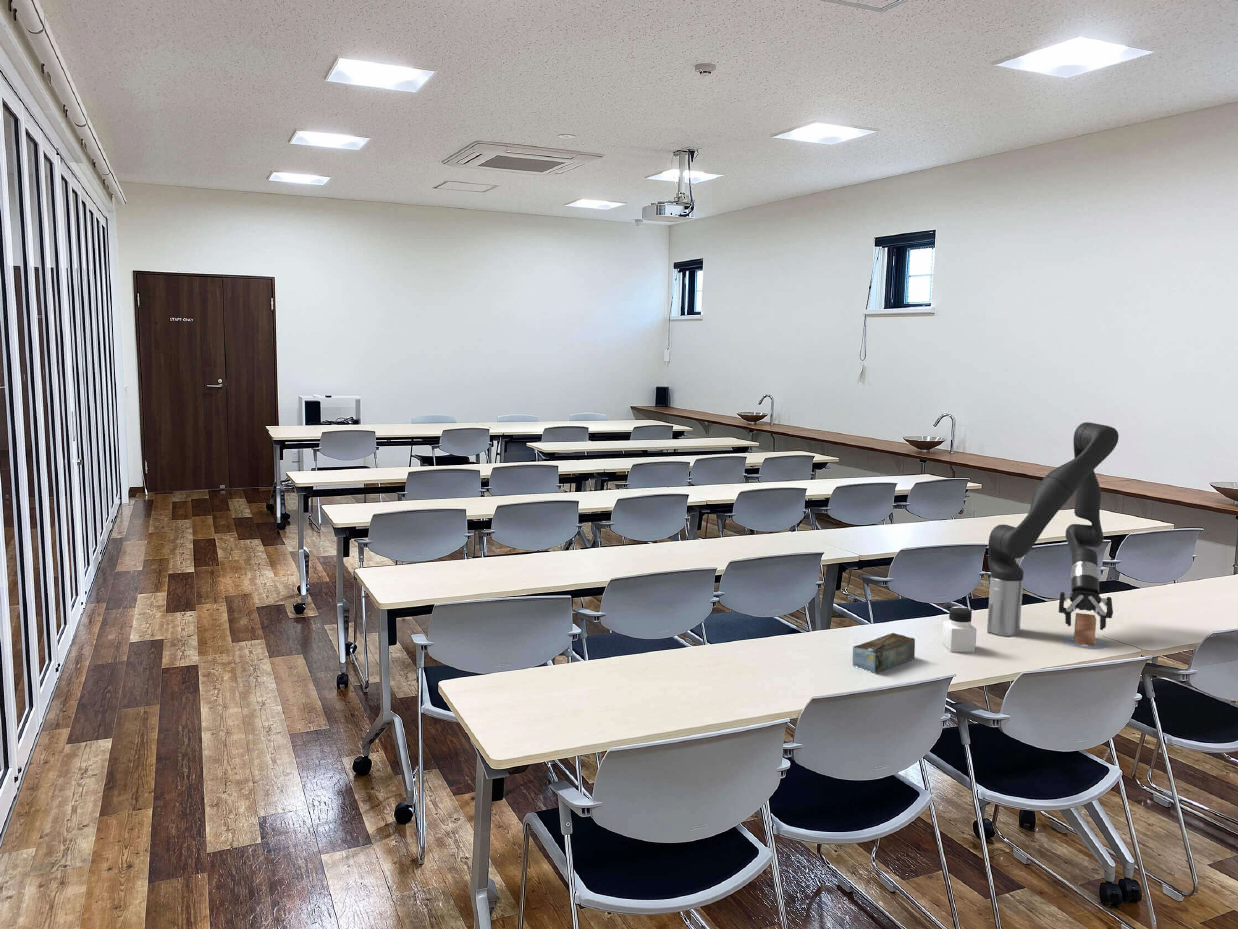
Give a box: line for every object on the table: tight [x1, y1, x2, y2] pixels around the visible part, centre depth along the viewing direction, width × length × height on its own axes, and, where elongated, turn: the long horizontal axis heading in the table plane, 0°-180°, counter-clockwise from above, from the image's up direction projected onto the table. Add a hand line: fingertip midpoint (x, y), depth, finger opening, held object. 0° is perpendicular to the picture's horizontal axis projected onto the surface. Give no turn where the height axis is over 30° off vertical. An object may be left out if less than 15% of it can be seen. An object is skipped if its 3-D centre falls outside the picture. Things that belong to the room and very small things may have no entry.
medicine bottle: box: [941, 606, 977, 653], centre depth 254 cm, size 7×7×12 cm
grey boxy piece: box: [851, 632, 916, 674], centre depth 242 cm, size 8×19×7 cm, turn 128°
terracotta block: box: [1073, 612, 1097, 646], centre depth 259 cm, size 5×5×8 cm
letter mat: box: [1060, 635, 1108, 650], centre depth 260 cm, size 12×12×1 cm
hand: (1085, 626), depth 258 cm, fingers open, 8 cm apart
